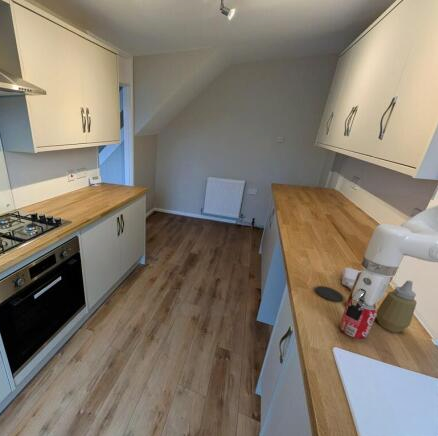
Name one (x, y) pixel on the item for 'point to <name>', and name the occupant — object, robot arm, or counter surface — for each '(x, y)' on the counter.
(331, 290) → the coaster
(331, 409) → the counter surface
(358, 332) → the soda can
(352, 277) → the charger
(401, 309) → the squeeze bottle
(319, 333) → the counter surface
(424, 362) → the counter surface
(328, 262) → the counter surface
